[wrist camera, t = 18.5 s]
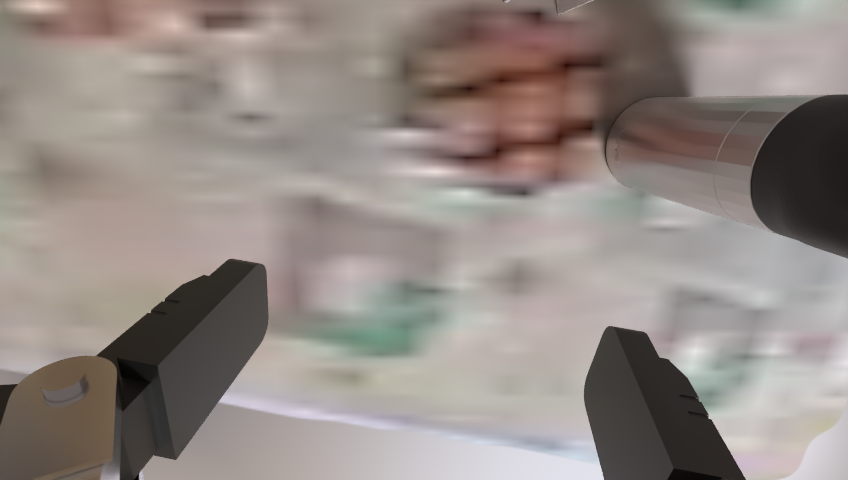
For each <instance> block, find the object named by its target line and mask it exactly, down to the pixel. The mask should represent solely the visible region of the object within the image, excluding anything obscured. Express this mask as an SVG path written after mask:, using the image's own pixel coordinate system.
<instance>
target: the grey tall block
mask: <svg viewBox="0 0 848 480" xmlns="http://www.w3.org/2000/svg"><path fill="white" fill-rule="evenodd" d="M509 1H510V0H504V2H505V3H507V2H509ZM591 1H594V0H556V4H557V15H559V14H563V13H565V12H568V11H570V10H572V9H575V8H577V7H579V6H582V5H584V4H587V3H589V2H591Z"/></svg>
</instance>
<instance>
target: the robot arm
mask: <svg viewBox="0 0 848 480" xmlns="http://www.w3.org/2000/svg"><path fill="white" fill-rule="evenodd" d="M606 158H607V163H608V166H609V169H610V171H611V173H612V174H613V176H614V177H615V178H616V179H617V180H618V181H619V182H620V183H622V184H623V185H625V186H628V187H630V188H633V189H636V190H639V191H642V192H646V193H649V194H652V195H655V196H658V197H661V198H664V199H667V200H671V201H674V202H677V203H680V204H683V205H687V206H690V207H693V208H696V209H699V210H703V211H706V212H709V213H712V214H715V215H718V216H722V217H725V218H728V219H731V220H734V221H738V222H741V223H745V224H748V225H751V226H754V227H758V228H761V229H764V230H767V231H770V232H773V233H777V234H780V235H783V236H786V237H789V238H793V239H796V240H798V241H800V242H803V243H805V244H807V245H810V246H813V247H815V248H818V249H821V250H824V251H827V252H830V253H833V254H836V255H839V256H842V257H845V258H848V95H786V96H726V97H655V98H646V99H643V100H640V101H638V102H636V103H634V104H632V105H631V106H629V107H628V108H627V109H626V110H624V111H623V112H622V113H621V115H620V116H619V117H618V118H617V119H616V121H615V123H614V124H613V126H612V128H611V130H610V133H609V136H608V139H607V145H606ZM267 326H268V297H267V275H266V269H265V266H264V265H263V264H259V263H254V262H248V261H242V260H236V259H229V260H227V261H226V262H225V263H224V264H222V265H221V266H220V267H219V268H218V269H217V270H216V271H214V272H213V273H212V274H211V275H210V276H206V275H203V276H201V277H199V278H196V279H194V280H192V281H190V282H187V283H185V284H183V285H181V286H180V287H179V288H177V289H176V290H175V291H174V292H173V293H171V294H170V295H169V296H168V297H167V298H165V301H164V302H161V303H159V304H158V305H157V306H156V307H154V308H153V309H152V310H151V313H147V314H146V315H145V316H144V317H142V318H141V319H140V320H139V321H138V322H136V323H135V324H134V325H133V326H132V327H130V328H129V329H128V330H127V331H126V332H124V333H123V334H122V335H121V336H120V337H118V338H117V339H116V340H115V341H114V342H112V343H111V344H110V345H109V346H107V347H106V348H105V349H104V350H103V351H101V352H100V353H99V354H98V355H97V356H79V357H73V358H68V359H64V360H60V361H57V362H54V363H52V364H49V365H47V366H44V367H42V368H41V369H39V370H37V371H35V372H33V373H32V374H30V375H29V376H27V377H26V378H25V379H23V380H22V381H21V382H20V383H19V384H12V385H0V480H144V478H143V472H142V469H143V467H144V466H145V465H146V464H147V462H148V461H149V460H150V459H151V457H152V456H153V455H155V456H160V457H164V458H169V459H174V460H176V459H177V458H178V457H179V455H180V454H181V452H182V451H183V450H184V448H185V447H186V445H187V444H188V443H189V441H190V440H191V439H192V437H193V436H194V435H195V433H196V432H197V430H198V429H199V427H200V426H201V425H202V424H203V422H204V421H205V419H206V418H207V416H208V415H209V414H210V412H211V411H212V410H213V408H214V407H215V406H216V404H217V403H218V401H219V400H220V399H221V397H222V396H223V395H224V393H225V392H226V390H227V389H228V388H229V386H230V385H231V384H232V382H233V381H234V379H235V378H236V377H237V375H238V374H239V373H240V371H241V370H242V368H243V367H244V366H245V364H246V363H247V362H248V360H249V359H250V357H251V356H252V355H253V353H254V352H255V351H256V349H257V348H258V346H259V345H260V344H261V342H262V340H263V338H264V336H265V333H266V330H267ZM698 399H699V397H698V396H697V394H696V392H695V390H694V389H693V387H692V385H691V384H690V382H689V380H688V378H687V377H686V376H685V375H684V374H683V373H682V372H681V371H680V370H678V369H677V368H676V367H675V366H674V365H673V364H672V363H671V362H670V361H669V360H668V359H664V358H659V356H658V354H657V352H656V350H655V348H654V346H653V344H652V343H651V341H650V339H649V337H648V335H647V334H646V333H645V332H641V331H635V330H630V329H624V328H618V327H613V326H609V327H607V328H606V329H605V331H604V333H603V335H602V338H601V340H600V343H599V345H598V348H597V351H596V353H595V356H594V359H593V361H592V364H591V367H590V369H589V372H588V374H587V377H586V381H585V387H584V402H585V407H586V411H587V415H588V419H589V422H590V426H591V430H592V434H593V438H594V442H595V445H596V449H597V453H598V457H599V461H600V465H601V468H602V472H603V476H604V480H746V479H745V477H744V476H743V474H742V472H741V470H740V469H739V467H738V465H737V463H736V462H735V460H734V458H733V456H732V455H731V453H730V451H729V449H728V448H727V446H726V444H725V443H724V441H723V439H722V437H721V436H720V434H719V432H718V430H717V429H716V427H715V425H714V423H713V422H712V420H711V419H708V416H709V415H708V413H707V411H706V410H705V408H704V406H703V404H702V403H701V402H699V400H698Z"/></svg>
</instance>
